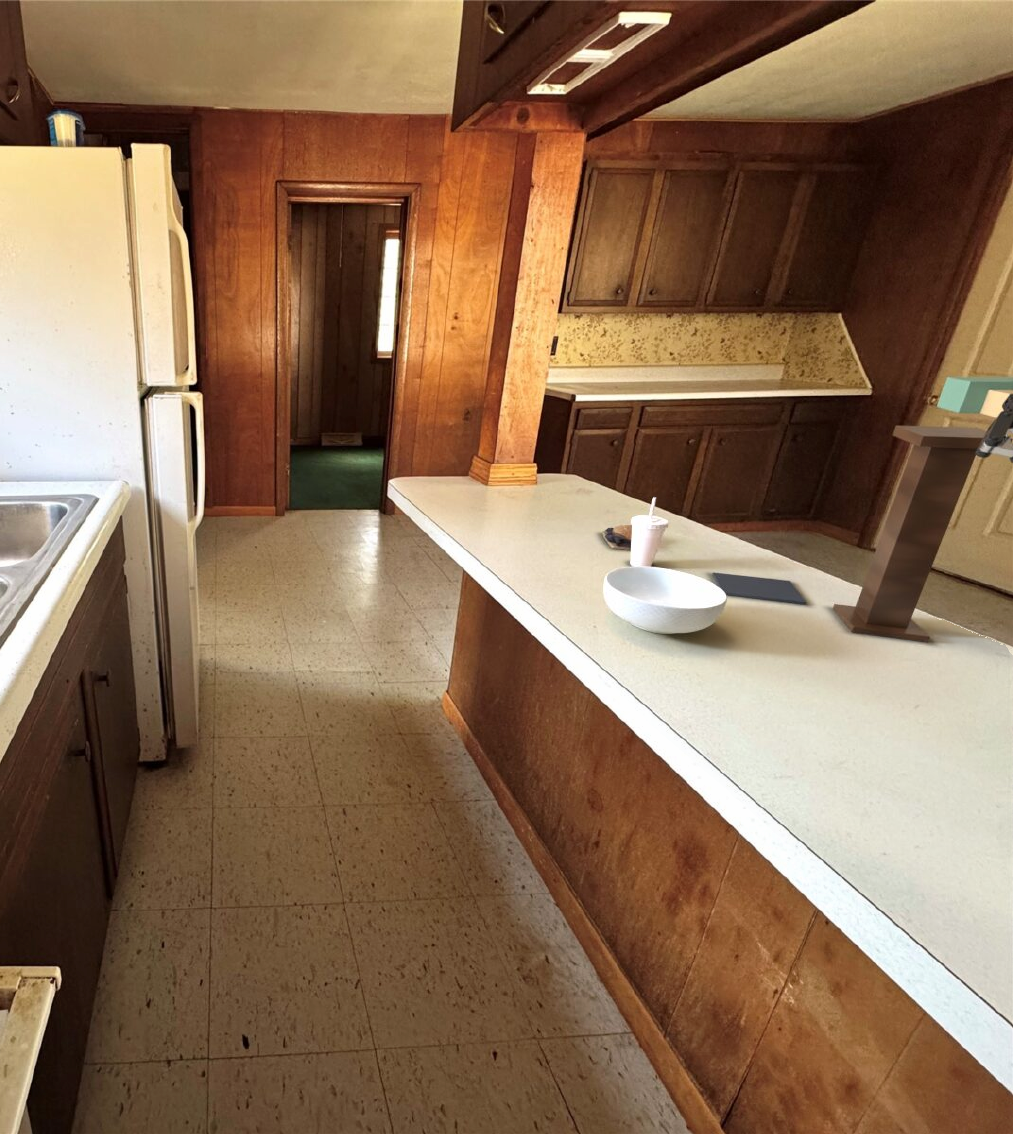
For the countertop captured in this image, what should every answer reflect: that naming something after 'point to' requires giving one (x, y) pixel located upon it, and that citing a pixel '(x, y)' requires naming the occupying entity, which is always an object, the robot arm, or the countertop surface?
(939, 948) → the countertop surface
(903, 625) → the walnut stand
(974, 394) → the two-tone toy blocks
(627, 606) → the cereal bowl
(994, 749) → the countertop surface
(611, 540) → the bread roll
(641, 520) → the smoothie
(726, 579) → the slate mat
